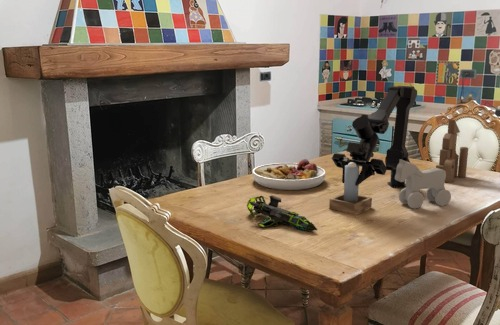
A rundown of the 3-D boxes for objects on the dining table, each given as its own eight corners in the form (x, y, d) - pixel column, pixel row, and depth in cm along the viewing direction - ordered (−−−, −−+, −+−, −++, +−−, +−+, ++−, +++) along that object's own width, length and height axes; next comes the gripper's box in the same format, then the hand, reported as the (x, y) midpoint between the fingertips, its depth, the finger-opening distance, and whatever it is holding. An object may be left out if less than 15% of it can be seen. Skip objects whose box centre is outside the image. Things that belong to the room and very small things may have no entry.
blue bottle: (341, 200, 176) (342, 161, 173) (353, 198, 177) (355, 160, 174) (347, 204, 171) (349, 164, 168) (360, 202, 173) (362, 163, 169)
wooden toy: (450, 183, 206) (455, 122, 200) (434, 180, 211) (439, 120, 205) (467, 176, 216) (472, 118, 211) (451, 174, 221) (456, 117, 215)
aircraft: (298, 247, 146) (300, 226, 144) (232, 219, 165) (233, 200, 163) (334, 232, 158) (336, 213, 156) (268, 207, 177) (269, 189, 175)
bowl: (300, 197, 189) (301, 176, 187) (237, 184, 207) (237, 165, 205) (337, 180, 213) (338, 162, 211) (278, 170, 230) (278, 153, 228)
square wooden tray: (344, 201, 182) (345, 192, 181) (371, 207, 175) (371, 197, 175) (329, 208, 174) (329, 199, 173) (356, 215, 168) (357, 204, 167)
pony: (403, 212, 170) (406, 163, 167) (387, 203, 180) (390, 157, 176) (454, 206, 176) (458, 159, 172) (436, 198, 185) (439, 153, 182)
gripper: (335, 130, 178) (317, 166, 172) (384, 136, 166) (367, 175, 160) (345, 148, 185) (329, 184, 180) (393, 155, 174) (377, 193, 168)
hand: (349, 183), depth 172 cm, fingers closed on blue bottle, 5 cm apart
